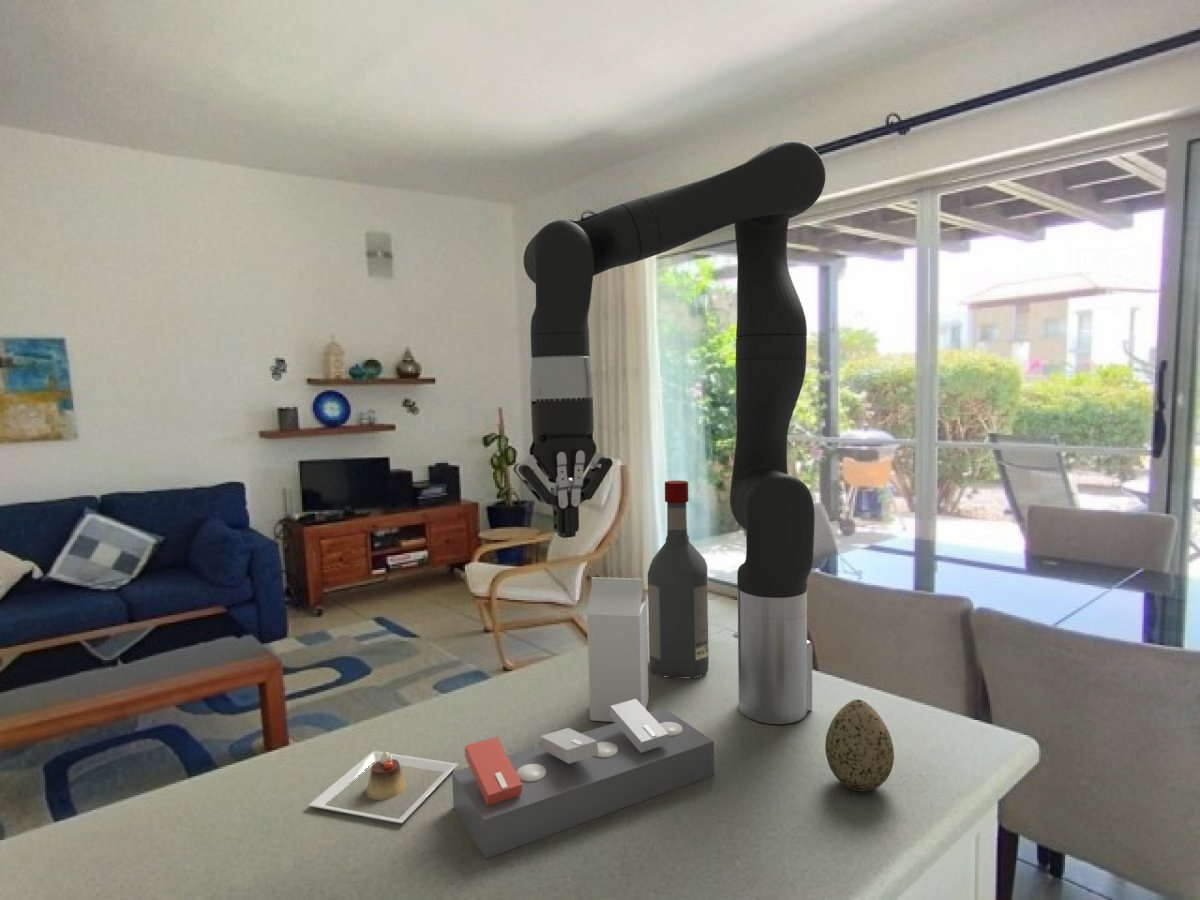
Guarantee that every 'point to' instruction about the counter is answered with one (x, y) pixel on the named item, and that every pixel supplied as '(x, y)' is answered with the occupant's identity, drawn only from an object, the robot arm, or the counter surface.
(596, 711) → the milk carton
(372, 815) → the dessert
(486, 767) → the red rocker
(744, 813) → the counter surface
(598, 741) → the rocker switch box
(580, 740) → the middle rocker
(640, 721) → the far rocker
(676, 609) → the liquor
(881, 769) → the decorative egg
